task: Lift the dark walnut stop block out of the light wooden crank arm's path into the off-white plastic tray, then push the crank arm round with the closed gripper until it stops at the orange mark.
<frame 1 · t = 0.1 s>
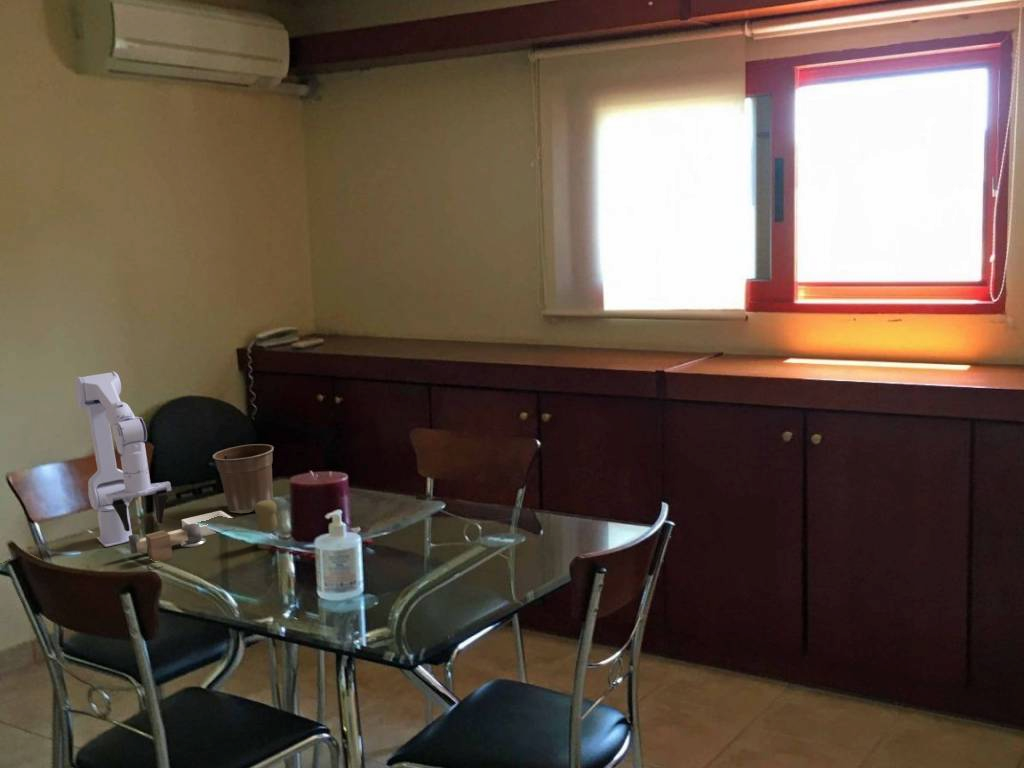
hand: (143, 526, 259), 10 cm above the table, tool pointing down, fingers open, 7 cm apart
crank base: (193, 543, 276), on the table
cork: (270, 545, 270), on the table
tray: (209, 528, 287), on the table
plant pot: (250, 508, 303), on the table
stop block: (160, 558, 266), on the table
crank: (165, 537, 272), point 3 cm above the table, hinge at 0.0°
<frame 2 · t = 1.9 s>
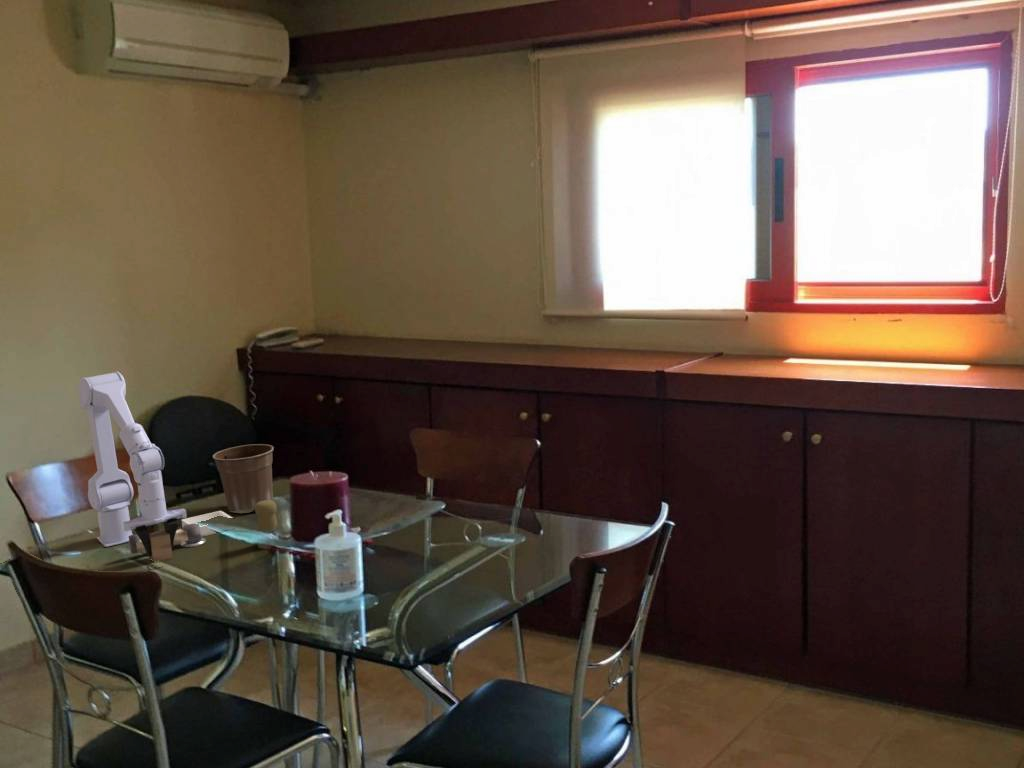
hand: (160, 552, 266), 1 cm above the table, tool pointing down, fingers closed on stop block, 4 cm apart
stop block: (160, 558, 266), on the table, touching gripper
everything else where it was.
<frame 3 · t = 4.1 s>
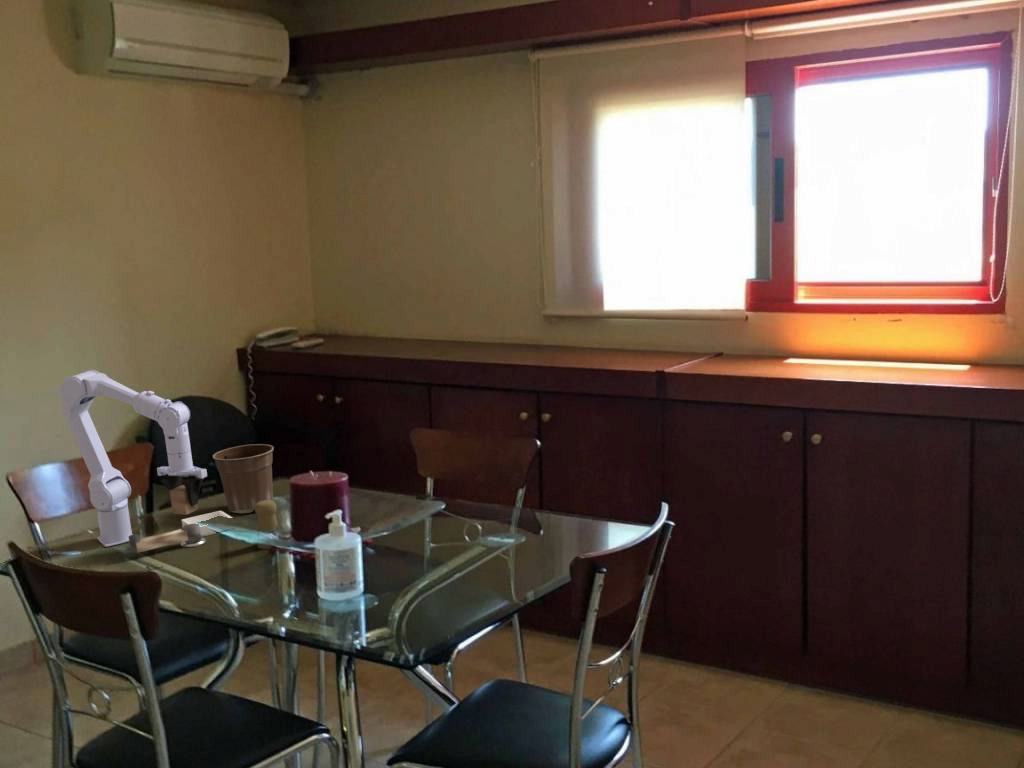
hand: (186, 504, 277), 9 cm above the table, tool pointing down, fingers closed on stop block, 4 cm apart
stop block: (186, 511, 277), point 8 cm above the table, touching gripper
everything else where it was.
when the fingers open (3 cm above the table, at t = 6.3 s): stop block drops 1 cm, resting on tray.
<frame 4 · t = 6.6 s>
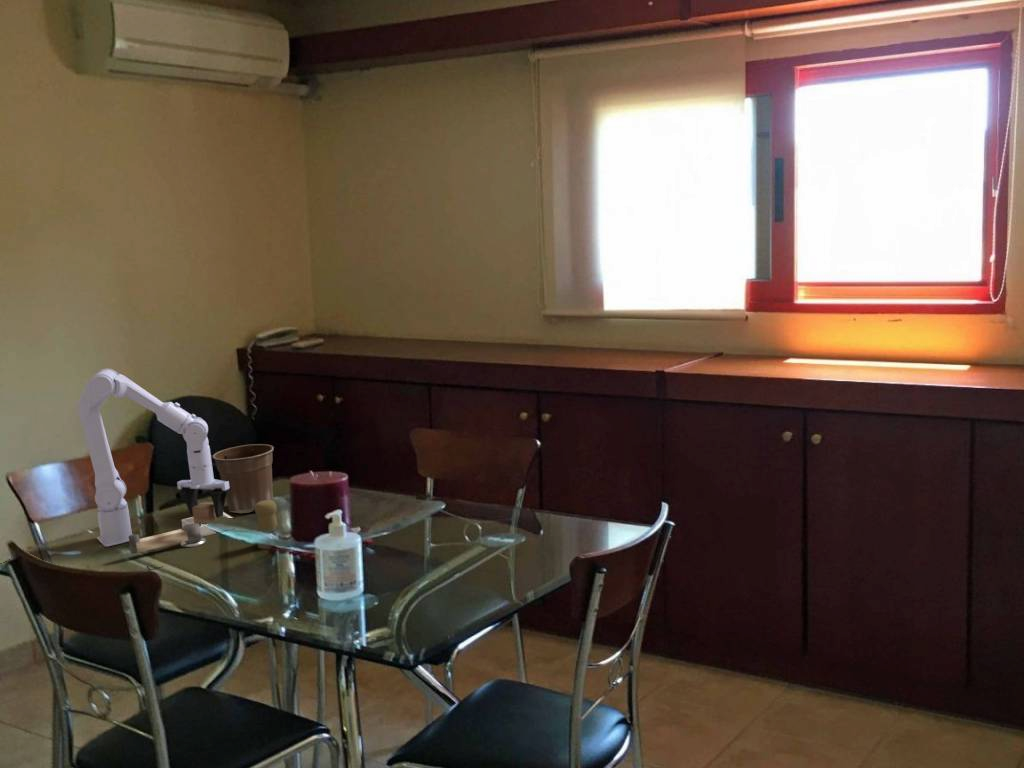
hand: (207, 515, 286), 4 cm above the table, tool pointing down, fingers open, 7 cm apart
stop block: (207, 527, 286), point 1 cm above the table, touching tray
everything else where it was.
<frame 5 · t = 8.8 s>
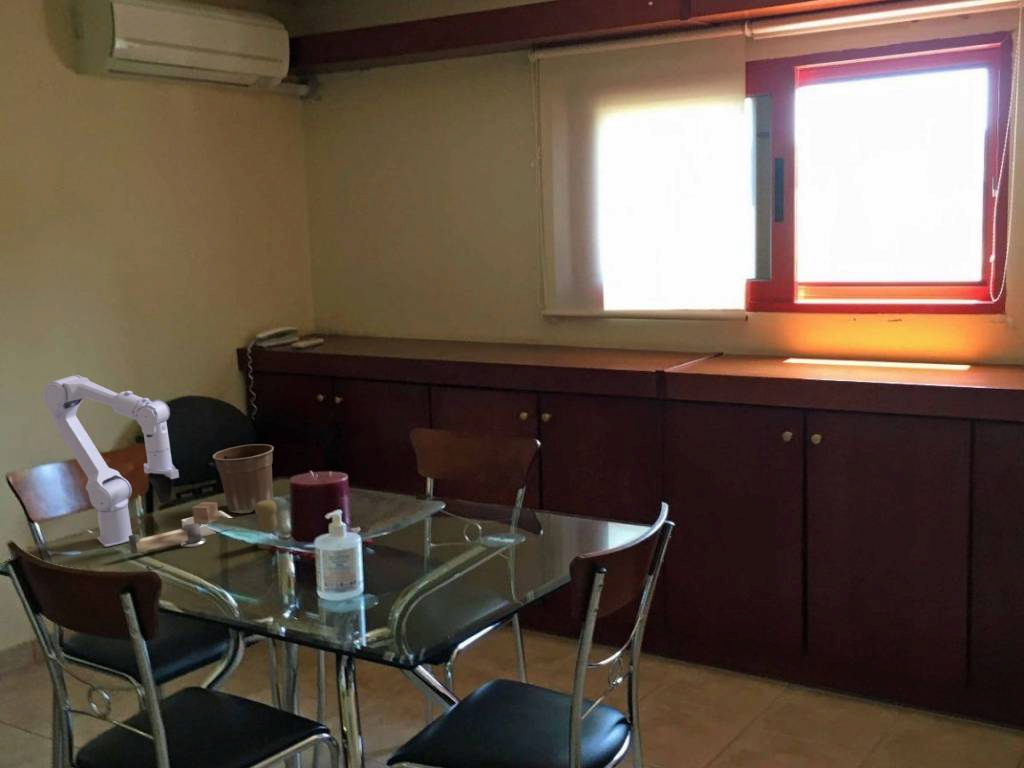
hand: (165, 502, 277), 10 cm above the table, tool pointing down, fingers closed
nothing on the table moved.
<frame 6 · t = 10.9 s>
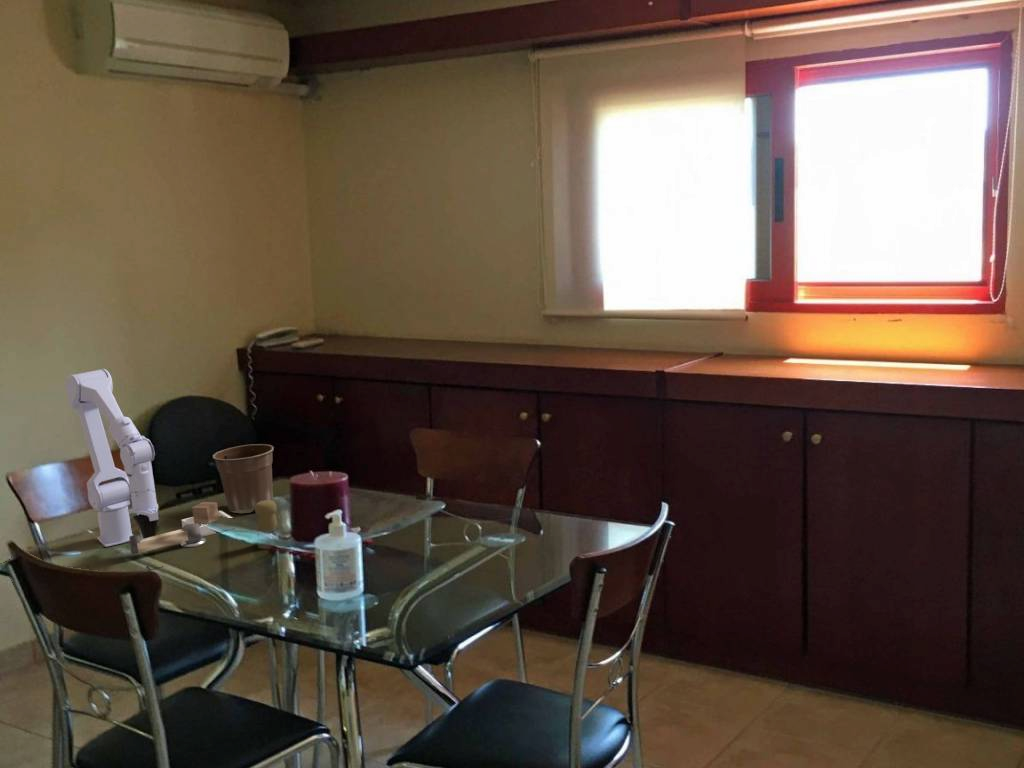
hand: (150, 542, 271), 2 cm above the table, tool pointing down, fingers closed
crank: (165, 537, 271), point 3 cm above the table, hinge at 2.5°, touching gripper
everything else where it was.
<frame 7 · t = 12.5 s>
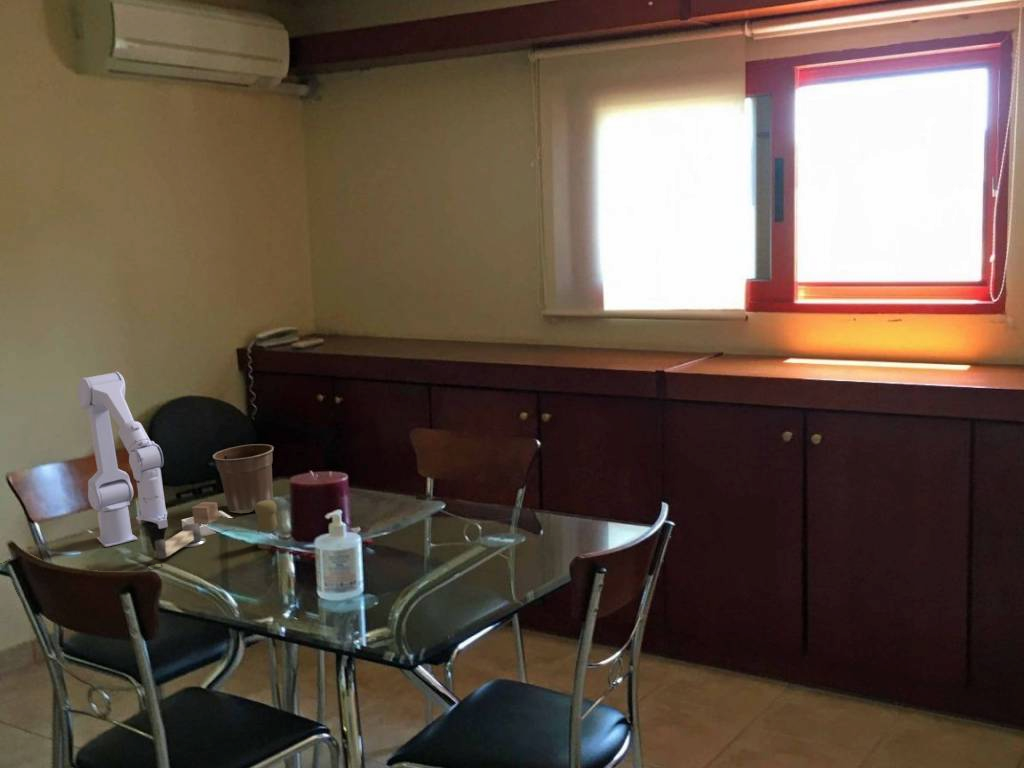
hand: (158, 549, 265), 2 cm above the table, tool pointing down, fingers closed, pressing on crank
crank: (177, 540, 269), point 3 cm above the table, hinge at 42.0°, touching gripper
everything else where it was.
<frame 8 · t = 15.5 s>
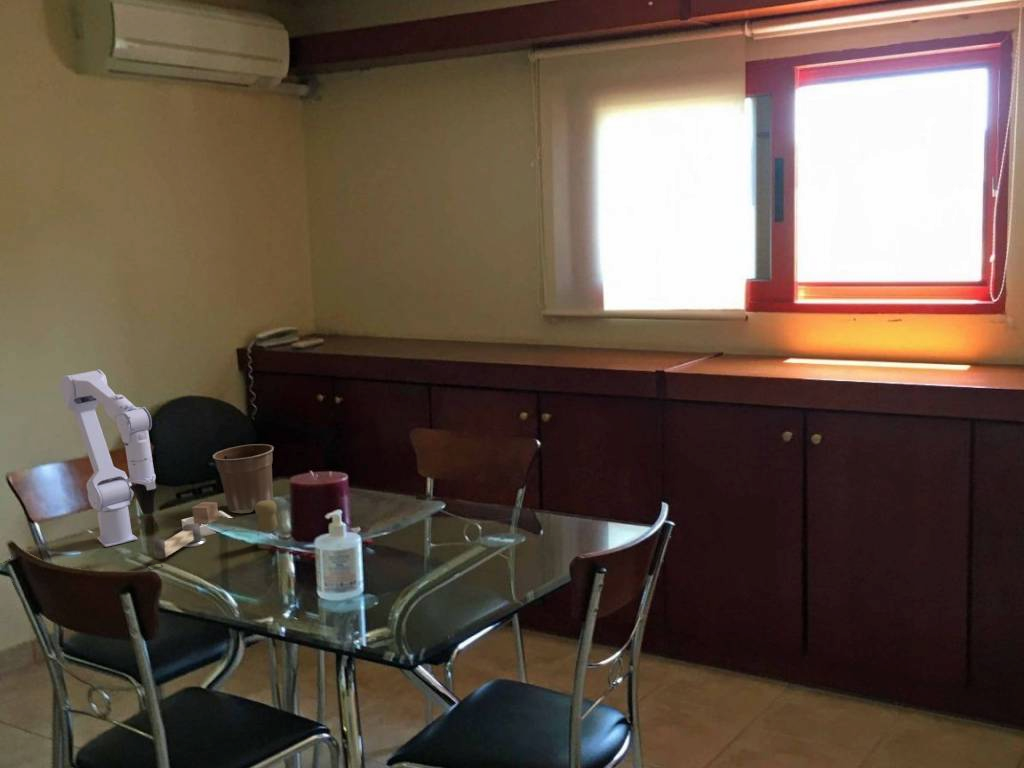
hand: (147, 512, 268), 10 cm above the table, tool pointing down, fingers closed
crank: (177, 540, 269), point 3 cm above the table, hinge at 41.2°
everything else where it was.
at the end: stop block 0.5 cm off-centre on the tray, point 0.6 cm above the tray's base; stop block tilted 0°; crank at +41° (first picture: +0°) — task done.
